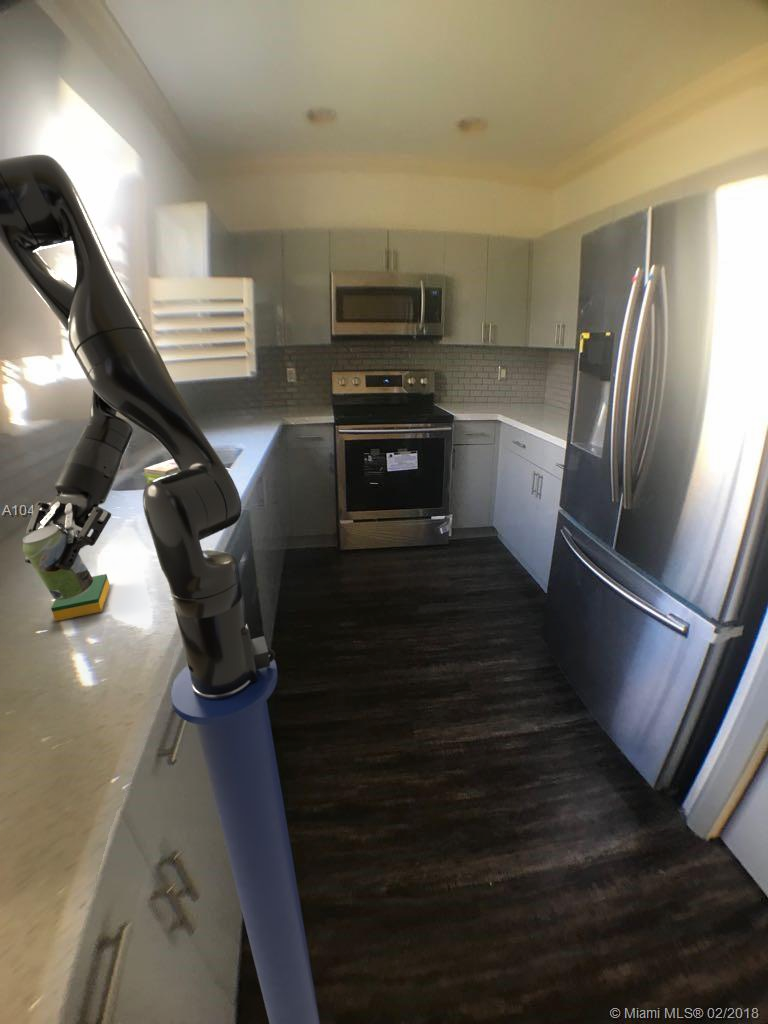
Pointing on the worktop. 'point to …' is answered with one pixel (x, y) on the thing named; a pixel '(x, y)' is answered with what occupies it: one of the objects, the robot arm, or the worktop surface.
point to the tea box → (161, 470)
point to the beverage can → (43, 555)
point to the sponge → (83, 601)
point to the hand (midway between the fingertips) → (46, 565)
